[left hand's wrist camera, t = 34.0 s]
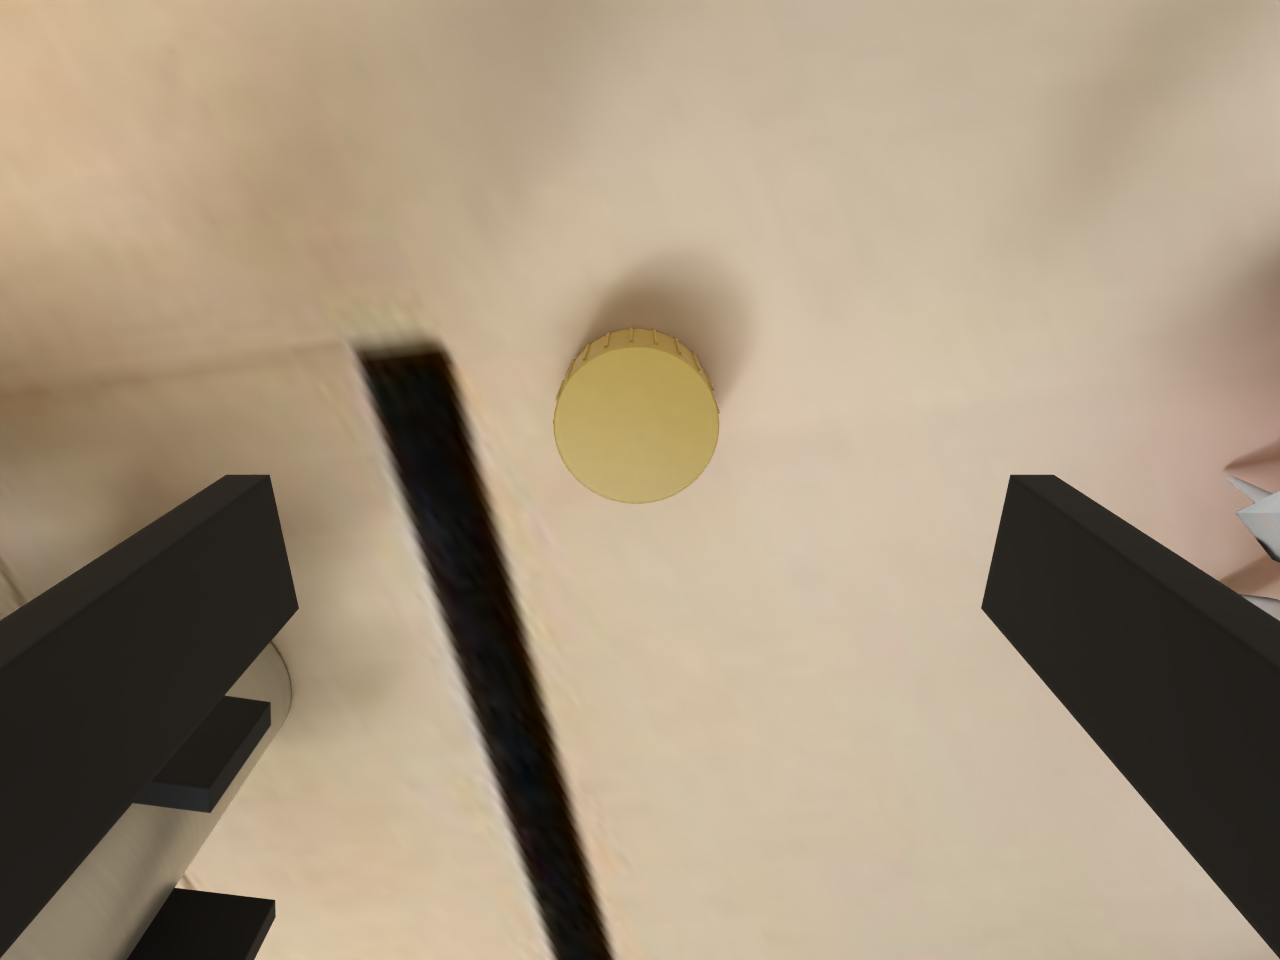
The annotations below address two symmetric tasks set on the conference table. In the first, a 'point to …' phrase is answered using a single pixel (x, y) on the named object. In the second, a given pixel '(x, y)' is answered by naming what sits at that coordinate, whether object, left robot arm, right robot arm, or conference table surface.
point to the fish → (1262, 531)
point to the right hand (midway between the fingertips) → (246, 862)
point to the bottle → (142, 855)
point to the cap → (636, 417)
